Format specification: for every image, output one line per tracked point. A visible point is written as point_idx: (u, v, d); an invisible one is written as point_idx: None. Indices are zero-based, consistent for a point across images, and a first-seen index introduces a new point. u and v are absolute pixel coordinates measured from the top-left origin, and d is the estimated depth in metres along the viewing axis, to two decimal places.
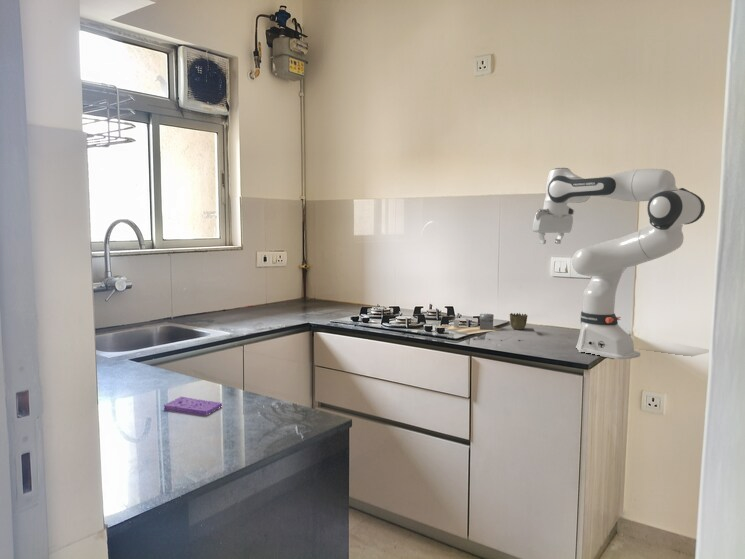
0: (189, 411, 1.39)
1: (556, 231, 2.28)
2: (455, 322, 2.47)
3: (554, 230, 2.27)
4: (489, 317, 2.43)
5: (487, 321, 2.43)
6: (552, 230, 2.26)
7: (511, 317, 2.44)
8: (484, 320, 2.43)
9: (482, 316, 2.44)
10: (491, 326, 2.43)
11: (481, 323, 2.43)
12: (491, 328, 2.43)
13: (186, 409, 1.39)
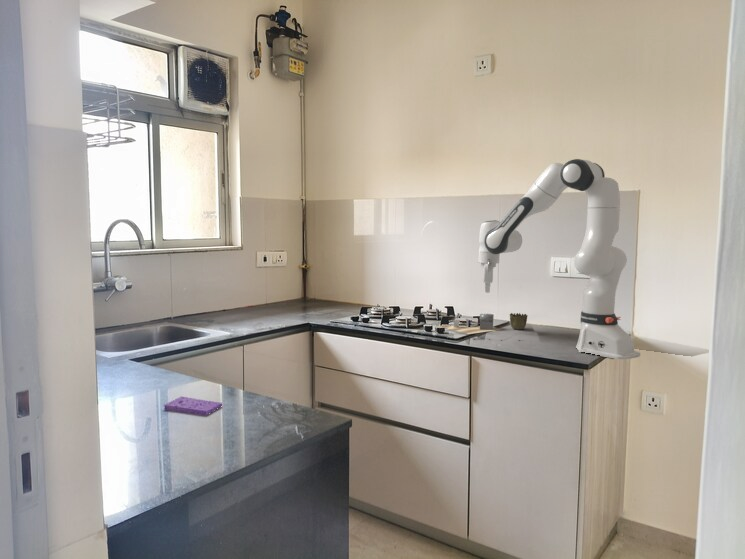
0: (189, 411, 1.39)
1: None
2: (455, 322, 2.47)
3: None
4: (489, 317, 2.43)
5: (487, 321, 2.43)
6: None
7: (511, 317, 2.44)
8: (484, 320, 2.43)
9: (482, 316, 2.44)
10: (491, 326, 2.43)
11: (481, 323, 2.43)
12: (491, 328, 2.43)
13: (186, 409, 1.40)
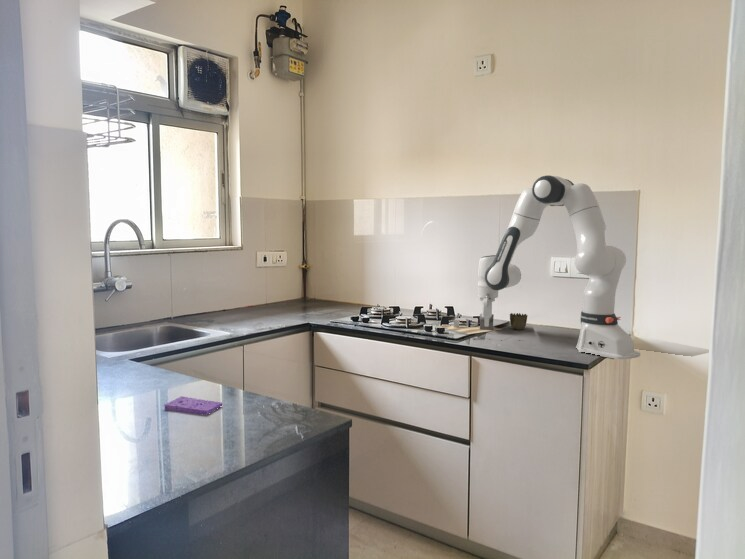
0: (190, 411, 1.39)
1: None
2: (455, 322, 2.47)
3: None
4: None
5: None
6: None
7: (511, 317, 2.44)
8: None
9: (482, 316, 2.44)
10: (491, 326, 2.43)
11: (481, 323, 2.43)
12: (491, 328, 2.43)
13: (186, 408, 1.40)
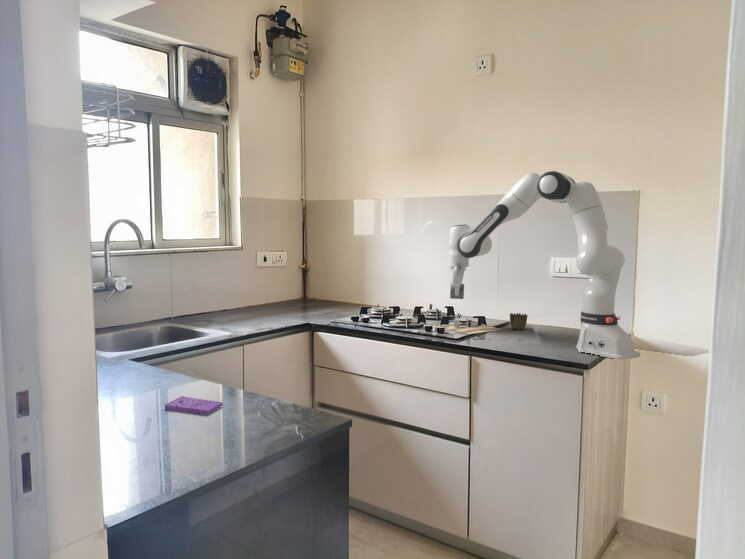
0: (190, 410, 1.40)
1: None
2: (455, 322, 2.47)
3: None
4: None
5: None
6: None
7: (511, 317, 2.44)
8: (454, 289, 2.44)
9: None
10: (461, 295, 2.44)
11: (452, 292, 2.45)
12: (461, 297, 2.44)
13: (187, 408, 1.40)
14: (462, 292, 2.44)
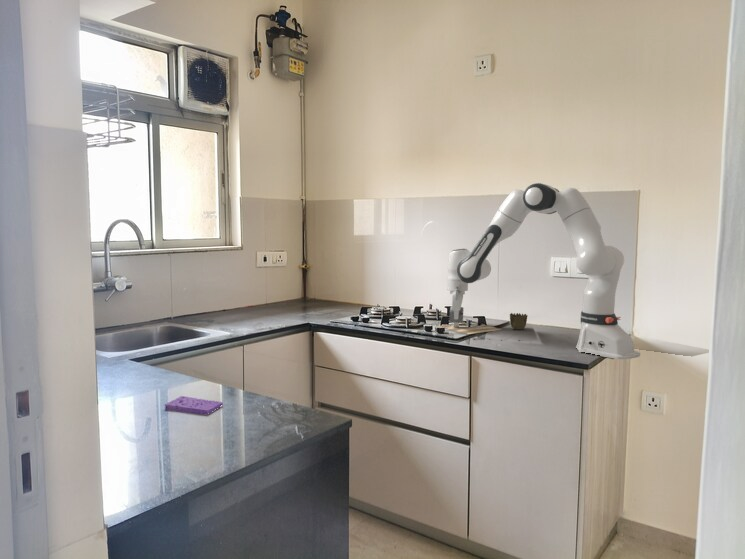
0: (190, 410, 1.40)
1: None
2: (455, 322, 2.47)
3: None
4: None
5: None
6: None
7: (511, 317, 2.44)
8: None
9: None
10: (461, 319, 2.45)
11: (451, 316, 2.46)
12: (461, 321, 2.45)
13: (187, 408, 1.40)
14: (461, 316, 2.45)
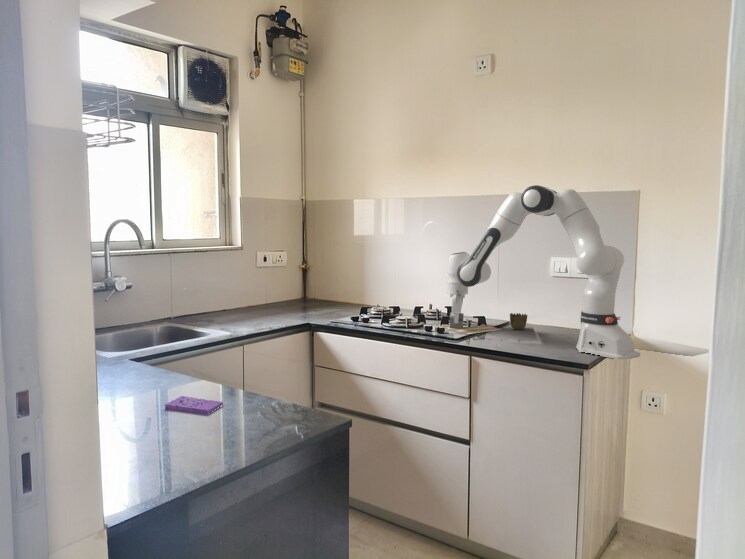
0: (190, 410, 1.40)
1: None
2: None
3: None
4: (459, 316, 2.44)
5: None
6: None
7: (511, 317, 2.44)
8: None
9: (452, 315, 2.45)
10: (461, 325, 2.44)
11: (451, 322, 2.45)
12: (461, 327, 2.44)
13: (187, 408, 1.40)
14: (461, 322, 2.44)
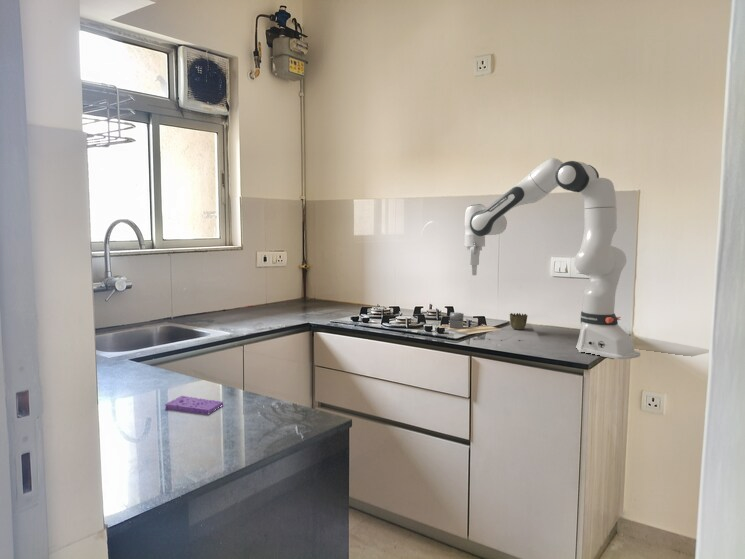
0: (191, 410, 1.40)
1: None
2: None
3: None
4: (459, 316, 2.44)
5: (457, 320, 2.44)
6: None
7: (511, 317, 2.44)
8: (454, 319, 2.45)
9: (452, 315, 2.45)
10: (461, 325, 2.44)
11: (451, 322, 2.45)
12: (461, 327, 2.44)
13: (187, 408, 1.40)
14: (461, 322, 2.44)
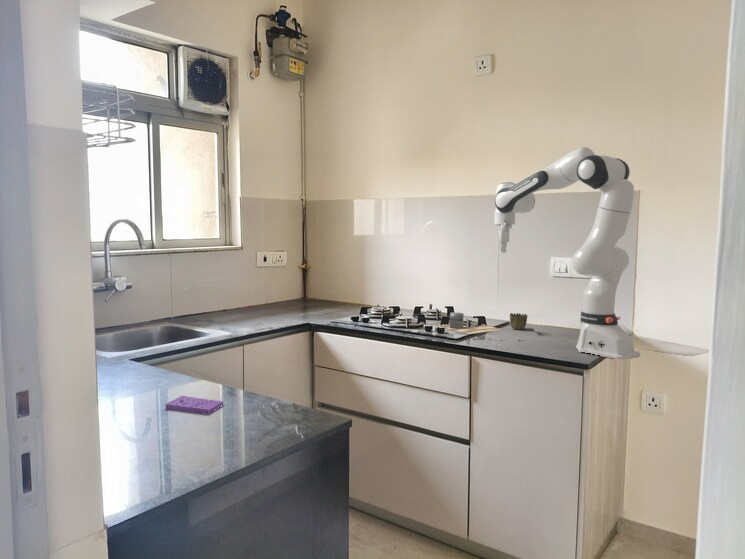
0: (191, 410, 1.40)
1: None
2: None
3: None
4: (459, 316, 2.44)
5: (457, 320, 2.44)
6: None
7: (511, 317, 2.44)
8: (454, 319, 2.45)
9: (452, 315, 2.45)
10: (461, 325, 2.44)
11: (451, 322, 2.45)
12: (461, 327, 2.44)
13: (188, 408, 1.40)
14: (461, 322, 2.44)
